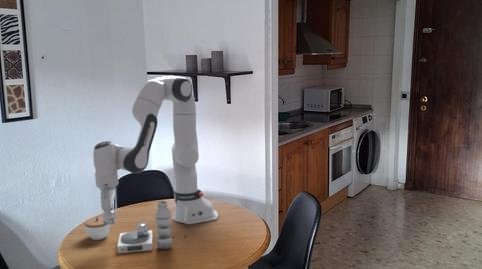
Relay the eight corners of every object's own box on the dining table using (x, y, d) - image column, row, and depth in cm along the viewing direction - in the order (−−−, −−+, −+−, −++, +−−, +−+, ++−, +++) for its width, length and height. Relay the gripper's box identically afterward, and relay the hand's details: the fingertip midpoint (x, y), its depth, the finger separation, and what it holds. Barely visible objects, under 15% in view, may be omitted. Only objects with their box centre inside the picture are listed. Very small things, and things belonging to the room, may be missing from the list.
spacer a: (115, 220, 180) (115, 209, 179) (114, 224, 176) (114, 213, 175) (103, 220, 179) (104, 209, 178) (102, 224, 175) (102, 212, 174)
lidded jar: (103, 230, 198) (102, 211, 196) (115, 237, 190) (113, 217, 189) (81, 237, 191) (80, 217, 189) (92, 244, 183) (90, 223, 181)
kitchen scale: (152, 236, 190) (152, 228, 190) (152, 250, 176) (151, 241, 176) (120, 239, 188) (119, 231, 187) (117, 253, 174) (116, 245, 173)
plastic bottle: (157, 244, 181) (154, 200, 178) (173, 244, 182) (171, 199, 179) (155, 251, 175) (153, 205, 172) (171, 250, 176) (169, 204, 172)
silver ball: (148, 232, 185) (147, 222, 184) (148, 237, 180) (147, 226, 179) (137, 233, 184) (136, 223, 183) (136, 238, 179) (135, 227, 178)
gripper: (112, 187, 165) (115, 221, 167) (117, 174, 185) (119, 204, 187) (95, 189, 164) (99, 223, 166) (102, 175, 183) (105, 205, 186)
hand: (110, 213), depth 177 cm, fingers closed on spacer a, 5 cm apart
